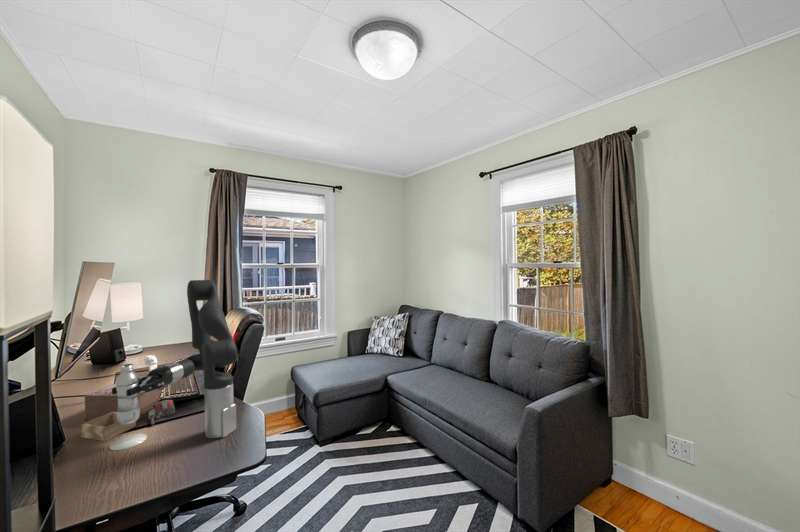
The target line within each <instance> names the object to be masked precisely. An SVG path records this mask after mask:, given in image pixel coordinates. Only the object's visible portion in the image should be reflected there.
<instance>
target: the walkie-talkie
mask: <svg viewBox="0 0 800 532" xmlns="http://www.w3.org/2000/svg"><path fill="white" fill-rule="evenodd" d="M174 413H176V407H175V404H174V400H173V399H170V400H169V399H164V400H161V401H157V402H155V403H154V405H153V409H150V410H149V411H148V420H149V421H150V425H151V426H154V425H155V419H159V418H163V417H167V416H172V415H175V414H174ZM171 414H172V415H171Z"/></svg>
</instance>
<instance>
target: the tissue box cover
mask: <svg viewBox="0 0 800 532" xmlns="http://www.w3.org/2000/svg"><path fill="white" fill-rule="evenodd" d="M136 374H137V375H138V377H139V378H141V377H143V376H148V374H146V373H136ZM167 386H168V387H169V385H167ZM167 386H164V387H162V388H159V389H155V390H152V391H149V392H145V391H144V392H142V393H140V392H139V393H137V398H138V406H139V408H140V410H142V409H143V408H145V407H147V406H149V405H150V404H152V402H153V403H154V401H155V402H156V401H158V400H159V396H160V394H161V392H162V390H163V389H164V388H165V387H167ZM114 387H116V386H115V383H113V384H110V385H108V386H105V387H102V388H100V389H98V390H95V391H91V392H89V393H87V394H85V395H84V415H85V416H84V419H87V420H86V421H91V420H93V419H96V418H98V417H101V416H103V415H106V414H108V413H111V412H117V410H118V396H117V394H112V388H114ZM150 389H151V388H150Z"/></svg>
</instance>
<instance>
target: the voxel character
mask: <svg viewBox="0 0 800 532" xmlns="http://www.w3.org/2000/svg"><path fill="white" fill-rule="evenodd" d="M144 364H145V365H147V367H148V371H149V372H150V371H151V370H153V369H156V368H158V360H157V356H156V355H154V354H153V355H152V354H149V355H146V356H145V358H144ZM149 372H147V373H145V374H149Z"/></svg>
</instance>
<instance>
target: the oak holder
mask: <svg viewBox="0 0 800 532" xmlns="http://www.w3.org/2000/svg"><path fill="white" fill-rule="evenodd" d="M116 415H117V412H111V413H108V414H106V415H103V416H101V417H98V418H96V419H93V420H87V421H86V422H84V423H81V424H80V437H81V438H85V439H92V440H97V441H103V442H106V441H108V440H110V439H112V438H114V437H117V436H119V435H121V434H123V433H126V432H128V431H129V430H132V429H134V428H135V426H136V427H137V420H136V421H135V422H133V423H130V424H125V425H120V424H118V423H117V420H116ZM108 425H109V426H108ZM133 427H134V428H133Z"/></svg>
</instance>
